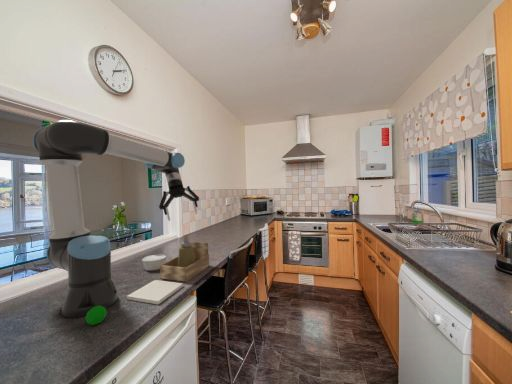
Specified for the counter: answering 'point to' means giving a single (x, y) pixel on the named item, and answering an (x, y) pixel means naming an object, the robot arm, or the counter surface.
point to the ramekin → (153, 262)
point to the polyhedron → (96, 315)
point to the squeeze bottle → (186, 253)
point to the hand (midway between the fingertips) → (183, 216)
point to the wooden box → (185, 274)
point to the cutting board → (155, 292)
